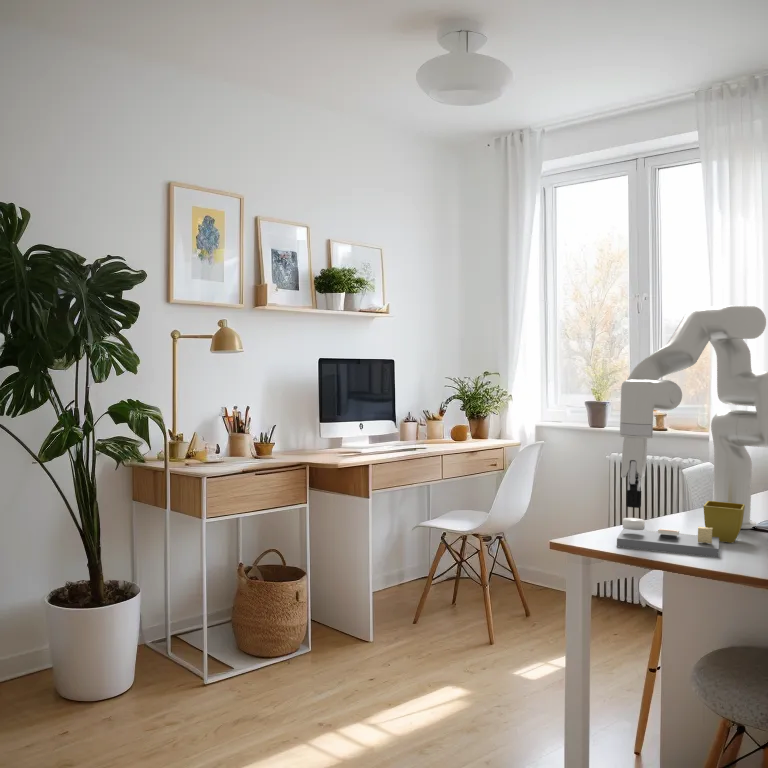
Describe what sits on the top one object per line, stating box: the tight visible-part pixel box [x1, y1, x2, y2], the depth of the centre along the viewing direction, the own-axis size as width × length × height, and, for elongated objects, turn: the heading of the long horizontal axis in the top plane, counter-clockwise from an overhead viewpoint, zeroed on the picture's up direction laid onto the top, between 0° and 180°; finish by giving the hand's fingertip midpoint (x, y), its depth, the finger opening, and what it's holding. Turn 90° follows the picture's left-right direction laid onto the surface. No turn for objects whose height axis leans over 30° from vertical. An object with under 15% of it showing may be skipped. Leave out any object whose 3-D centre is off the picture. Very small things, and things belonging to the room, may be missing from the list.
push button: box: [622, 517, 646, 530], centre depth 186 cm, size 5×5×2 cm
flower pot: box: [702, 500, 745, 544], centre depth 191 cm, size 9×9×9 cm
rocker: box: [657, 528, 680, 535], centre depth 183 cm, size 6×4×1 cm
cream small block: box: [697, 526, 712, 543], centre depth 178 cm, size 2×3×3 cm, turn 66°
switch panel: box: [616, 527, 720, 559], centre depth 183 cm, size 14×22×3 cm, turn 66°
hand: (633, 506), depth 186 cm, fingers closed
